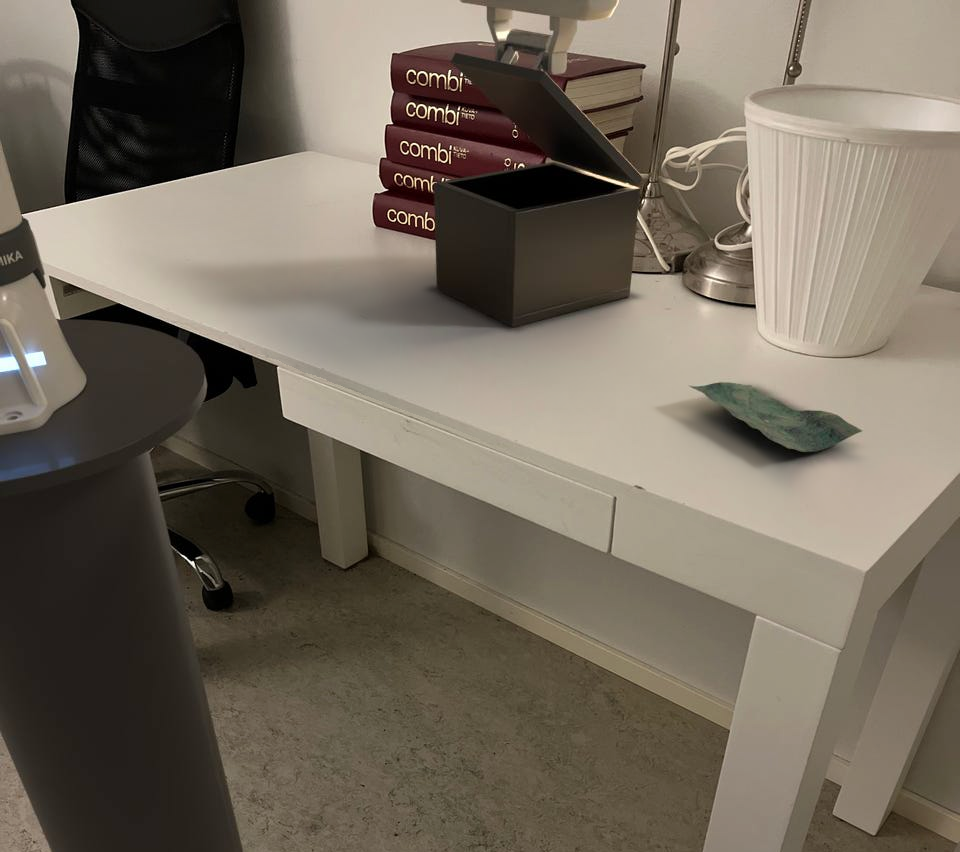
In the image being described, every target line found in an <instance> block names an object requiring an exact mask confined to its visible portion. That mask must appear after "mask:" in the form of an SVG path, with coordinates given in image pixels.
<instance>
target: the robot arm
mask: <svg viewBox="0 0 960 852" xmlns="http://www.w3.org/2000/svg"><path fill="white" fill-rule="evenodd" d="M459 2H461V3H462V4H468V5H474V6H475V5H476V6H482V7H486V22H487V26H488V28H489V31H490V34H491V38H492V40H493V42H494V61H497V62H500V60H501V59H502V57H503V55H504V53H505V51H506V49H507V44H506V38H507V35H508V33H509V31H511V30H512V27H511V23H510V20H513V17H514V15H513V12H520V13H521V12H522V13H527V14H534V15H540V16H546V17H547V16H548V17H549V28H548V29H549V30H550V31H551V32H552V34H551V35H552V38H551V42H550V45H549V48H548V51H542V61H543V63H542V71H544V72H545V73H546V74H549V75H553V76H555V75H562V74H565V72H566V70H567V64H568V63H567V61H568V51H569V50H570V48H571V45H572V43H573V40H574V38H575V36H576V33H577V31H578V21H580V22H590V21H601V20H606V19H607V20H608V19H610V18H611V17H612V15H613V14H614V11H615V10H616V8H617V6H618V5H619V0H459ZM518 53H519V52H516V53H515V55H514V57H513V59H512V61H511V63H510V64H511V65H515V64H516V63H517V62H518V60H519V54H518ZM42 261H43V260H42V258H41V254H40V250H39V247H38V243H37V240H36V236H35V235H34V231H33V230H32V228H31V225H30V223H29V220H28V219H27V218H26V217H24V216H23V215H22V212H21V209H20V205H19V202H18V198H17V195H16V191H15V187H14V184H13V181H12V177H11V173H10V170H9V166H8V162H7V158H6V155H5V152H4V148H3V144H2V141H1V139H0V435H6V434H11V433H17V432H23V431H28V430H33V429H36V428H39V427H41V426H42V425H44V424H45V423H46V422H47V421H48V419H49V418H50V417H51V415H52V414H53V412H54V411H55V410H57V409H58V408H60V407H61V406H63V405H65V404H66V403H68V402H69V401H71V400H72V399H74V398H75V397H76V396H77V395H78V394H79V393H80V392H81V391H82V390H83V389H84V387H85V385H86V381H87V378H86V375H85V373H84V371H83V370H82V368H81V367H80V365H79V364H78V362H77V360H76V358H75V357H74V355H73V353H72V351H71V349H70V347H69V346H68V344H67V342H66V340H65V338H64V335H63V333H62V331H61V329H60V327H59V325H58V322H57V320H58V319H57V317H56V315H55V313H54V311H53V308H52V306H51V302H50V300H49V298H48V294H47V292H46V288H47V287H46V286H47V284H46V283H47V282H46V279H45V275H46V274H45V269H44V266H43V265H44V264H43V262H42Z"/></svg>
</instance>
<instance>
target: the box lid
mask: <svg viewBox="0 0 960 852" xmlns="http://www.w3.org/2000/svg"><path fill="white" fill-rule="evenodd" d="M552 35H553V34H547V33H541V32H536V31H530V30H523V29H518V28H511V31H509V33H508V35H507V38H506V44H507V49H506V51H505V53H504V55H503V57H502V59H501V60H500V62H497V61H495V60H491V59H487V58H482V57H478V56H472V55H469V54H463V53H458V52H454V54H453V56H452V58H451V59H450V63H451V65H453V66H454V67H455V68H456V69H457V70H458V71H459V72H460V73H461V74H462V75H463V76H464V77H465V78H466V79H467V80H468V81H469V82H470V83H471V84H472V85H473V86H475V88H477V89H478V90H479V91H480V92H481V93H482V94H483V96H485V97H486V98H487V99H488V100H489V102H491V103H492V104H493V105H494V106H495V107H496V108H497V109H498V110H500V112H501V113H502V114H503V115H504V116H505V117H507V118H508V119H509V121H511V122H512V123H513V124H514V125H515V126H516V127H517V128H518V129H519V130H520V131H521V132H522V133H523V134H524V135H525V136H526V137H527V138H528V139H529V140H530V141H532V143H533V144H534V145H535V146H536V147H537V148H538V149H540V151H542V153H544V154H545V155H546V156H547V158H549V159H550V160H551V161H552V162H556V163H559V164H563V165H566V166H569V167H573V168H576V169H579V170H582V171H586V172H589V173H592V174H596V175H599V176H602V177H605V178H609V179H612V180H615V181H619V182H622V183H625V184H628V185H632V186H635V187H639V186H640V184H641V182H642V180H643V179H644V176H642V174H641V173H640V172H639V171H638V170H637V169H636V168H635V166H633V165H632V163H630V162H629V160H628V159H627V158H626V157H625V156H624V155H623V154H622V152H620V151H619V150H618V149H617V148H616V146H614V145H613V143H612V142H611V141H610V140H609V139H608V138H607V137H606V135H604V134H603V132H602V131H601V130H600V129H599V128H598V126H596V125H595V124H594V123H593V122H592V121H591V119H590V118H589V117H588V116H587V115H586V114H585V113H584V112H583V111H582V110H581V109H580V108H579V106H578V105H577V104H576V103H574V101H573V100H572V99H571V98H570V97H569V96H568V95H567V94H566V93H565V92H564V91H563V89H562V88H561V87H560V86H559V85H558V84H557V83H556V82H555V81H554V80H553V79H552V78H551V77H550V75H548V73H545V72H544V71H542V63H543V61H542V51H548V48H549V45H550V42H551V38H552ZM516 52H517V53H522V54H527V55H531V56H536V57H537V58H536V60H535V62H534V64H533V65H532V67H531V68H529V67H525V66H520V65H516V64H510V63H511V61H512V59H513V57H514V55H515V53H516Z"/></svg>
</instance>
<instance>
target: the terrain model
mask: <svg viewBox="0 0 960 852" xmlns="http://www.w3.org/2000/svg"><path fill="white" fill-rule="evenodd" d="M688 387H690V388H692V389H693V390H696V391H697V392H700V393H702V394H704V395H705V396H706V397H707V398H708V399H709V400H710V401H713V402H714V403H715V404H718V405H720V406H722V407H724V409H726V410H727V411H728V412H729V413H730V414H731V415H732V416H733V417H735V418H736V419H738V420H740V421H744V422H745V423H746V425H748V426H749V427H751V428H752V429H757V430H758V431H760V432H761V433H762V434H763V435H764V436H765V437H766V438H767V439H769V440H771V441H773V442H774V443H777V444H779V445H781V446H783V447H785V448H786V449H789V450H791V449H792V450H796V451H798V452H802V453H809V452H819V451H823V450H825V449H828V448H831V447H833V446H834V445H837V444H839V443H841V442H843V441H845V440H847V439H849V438H851V437H852V436H854V435H856V434H859V433H861V432H863V430H862V429H861V428H858V427H857V426H855V425H853V424H851V423H849V421H846V420H845V419H844V418H842V416H839V415H838V414H835V413H833V412H829V411H824V410H813V409H812V410H811V409H810V410H809V409H806V410H796V409H793V408H790V407H788V406H787V405H786V404H785V403H783V402H782V401H780V400H778V399H775V398H773V397H769V396H766V395H765V394H763V393H762V392H761V391H759V390H757V389H756V388H754V387H753V386H752V385H751V384H741V383H737V382H736V383H735V382H730V381H728V382H724V381H719V382H714V383H713V382H712V383H709V384H707V385H701V386H700V385H699V386H694V385H689V384H688Z"/></svg>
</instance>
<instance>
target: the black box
mask: <svg viewBox="0 0 960 852" xmlns="http://www.w3.org/2000/svg"><path fill="white" fill-rule="evenodd" d="M640 193H641V188H640V187H639V186H635V185H632V184H629V183H625V182H622V181H619V180H616V179H612V178H609V177H606V176H602V175H599V174H596V173H592V172H589V171H586V170H583V169H579V168H576V167H573V166H569V165H566V164H563V163H559V162H556V161H551V162H545V163H538V164H534V165H528V166H522V167H516V168H510V169H505V170H500V171H492V172H488V173H482V174H476V175H475V174H474V175H470V176H464V177H459V178H453V179H448V180H447V179H446V180H442V181H436V182H435V181H434V182H433V200H434V201H433V202H434V204H433V205H434V235H435V236H434V237H435V238H434V239H435V272H436V273H435V275H436V279H435V280H436V291H439V292H441V293H443V294H445V295H447V296H449V297H451V298H453V299H455V300H457V301H459V302H460V303H463V304H465V305H466V306H468V307H471V308H473V309H475V310H476V311H479V312H481V313H482V314H485V315H487V316H489V317H491V318H493V319H496V320H497V321H499V322H501V323H502V324H505V325H507V326H509V327H511V328H516V327H520V326H524V325H527V324H532V323H535V322H538V321H543V320H545V319H550V318H554V317H557V316H560V315H564V314H569V313H571V312H572V313H573V312H576V311H580V310H583V309H587V308H590V307H594V306H595V307H596V306H599V305H601V304H606V303H609V302H613V301H617V300H620V299H624V298H629V297H630V295H631V285H632V276H633V265H634V256H635V246H636V235H637V227H638V225H637V224H638V215H639V206H640V205H639V204H640V195H641V194H640Z"/></svg>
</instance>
